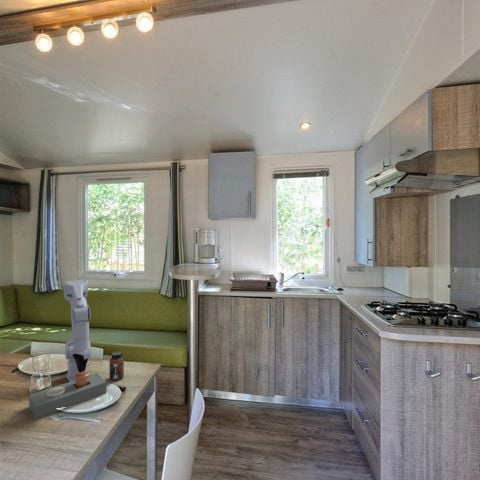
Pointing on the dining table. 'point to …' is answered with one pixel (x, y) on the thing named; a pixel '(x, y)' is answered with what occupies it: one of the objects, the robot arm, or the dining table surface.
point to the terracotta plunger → (81, 378)
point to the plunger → (55, 392)
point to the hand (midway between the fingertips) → (81, 371)
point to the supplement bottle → (116, 366)
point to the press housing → (66, 396)
